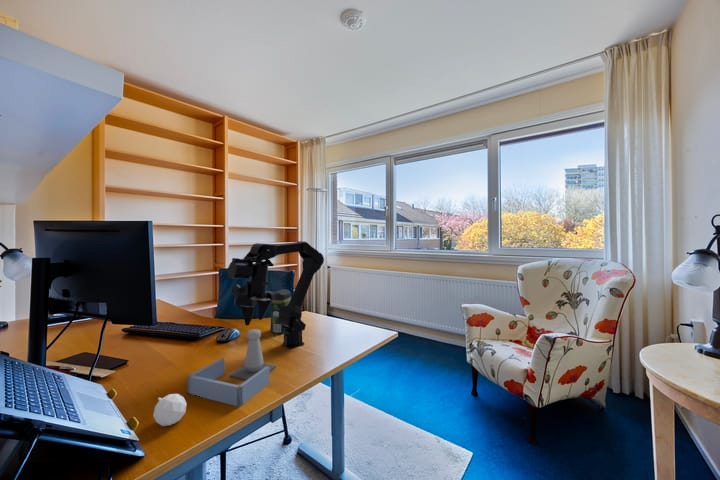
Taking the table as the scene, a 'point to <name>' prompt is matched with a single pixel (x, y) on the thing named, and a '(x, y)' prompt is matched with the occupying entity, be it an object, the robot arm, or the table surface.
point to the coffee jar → (278, 309)
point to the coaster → (245, 375)
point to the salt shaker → (253, 352)
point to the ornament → (169, 409)
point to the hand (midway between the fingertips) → (254, 322)
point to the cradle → (225, 384)
